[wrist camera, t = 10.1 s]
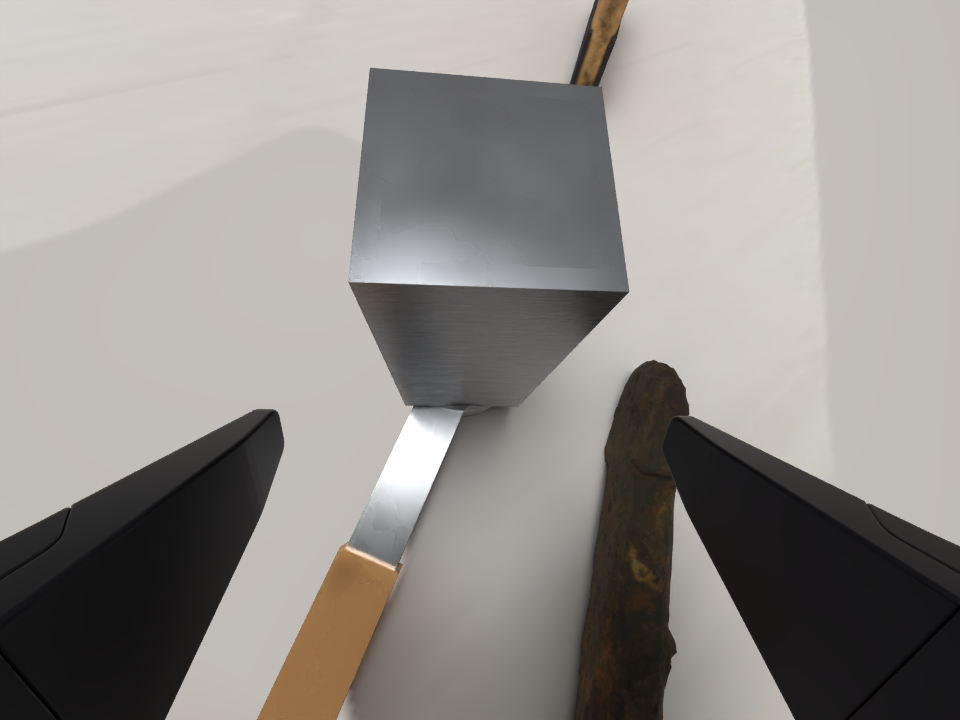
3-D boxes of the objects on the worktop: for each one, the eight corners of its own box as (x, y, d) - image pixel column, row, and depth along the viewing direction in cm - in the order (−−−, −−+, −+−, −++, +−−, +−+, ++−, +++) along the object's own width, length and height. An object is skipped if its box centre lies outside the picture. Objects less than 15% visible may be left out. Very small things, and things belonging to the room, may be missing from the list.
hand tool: (632, 780, 18) (697, 879, 13) (547, 757, 18) (583, 847, 13) (676, 385, 24) (730, 362, 19) (612, 366, 24) (652, 339, 19)
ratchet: (353, 776, 17) (318, 893, 12) (224, 716, 17) (139, 808, 12) (528, 338, 23) (551, 301, 19) (435, 299, 24) (433, 252, 19)
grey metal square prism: (517, 406, 20) (629, 291, 8) (405, 405, 19) (348, 281, 8) (514, 305, 22) (601, 87, 10) (410, 301, 21) (369, 67, 9)
